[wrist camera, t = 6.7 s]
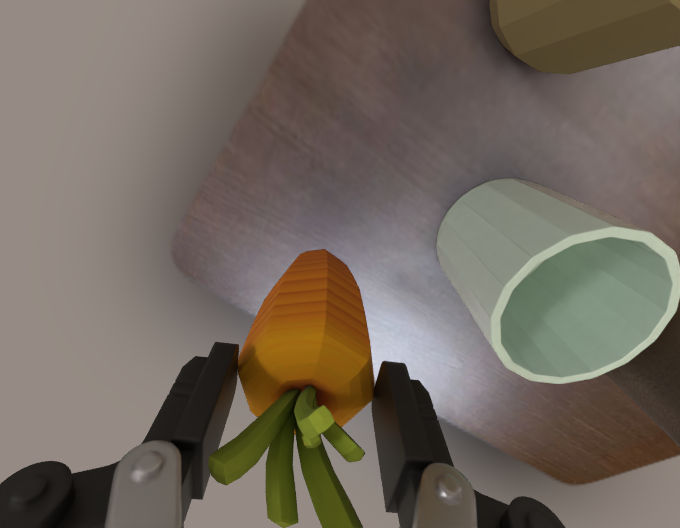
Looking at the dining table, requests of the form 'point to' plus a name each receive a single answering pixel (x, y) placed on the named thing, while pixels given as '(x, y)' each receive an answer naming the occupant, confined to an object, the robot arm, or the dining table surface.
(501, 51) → the dining table surface
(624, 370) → the pillar candle
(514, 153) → the dining table surface
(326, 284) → the carrot
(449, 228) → the tumbler
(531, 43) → the squeeze bottle
